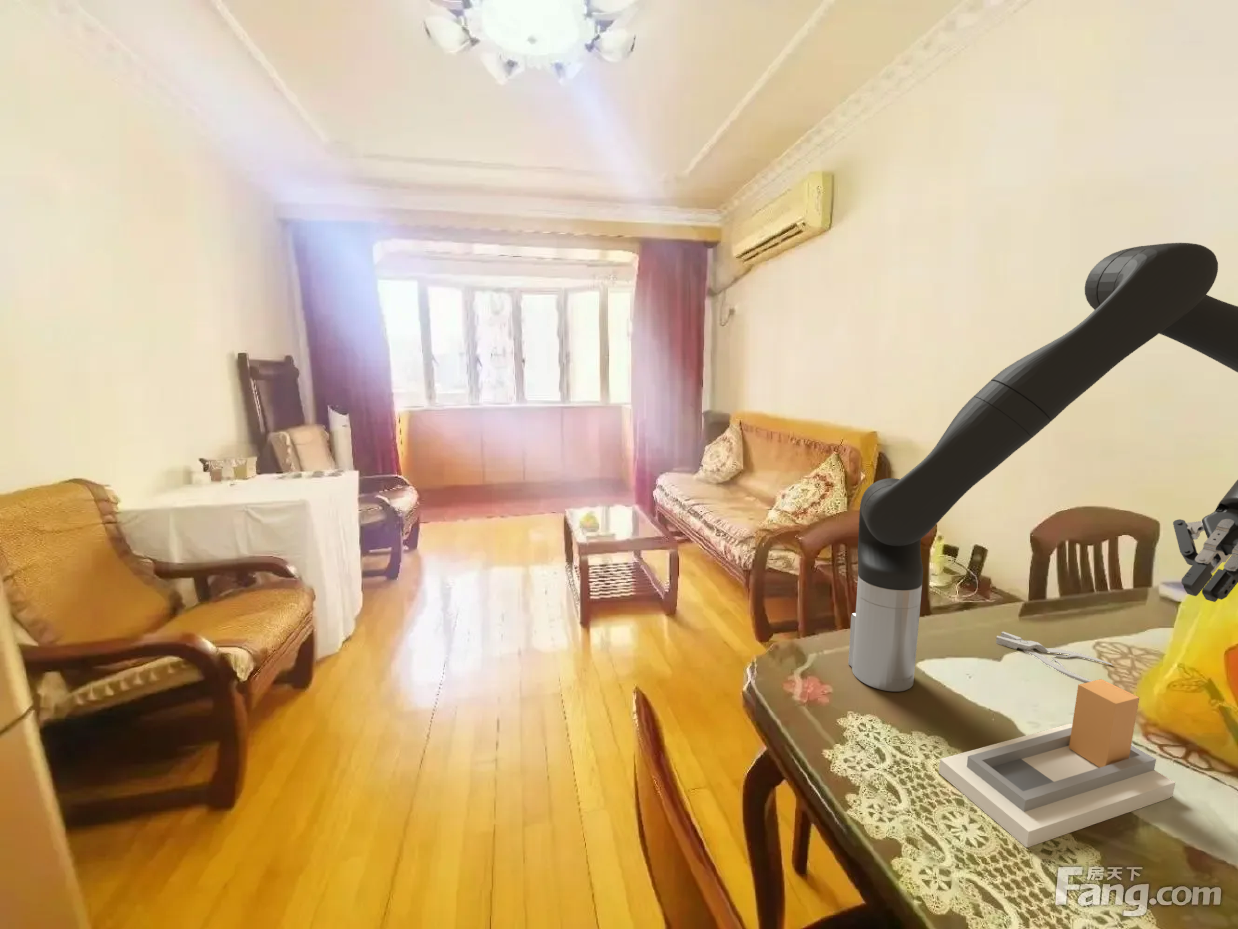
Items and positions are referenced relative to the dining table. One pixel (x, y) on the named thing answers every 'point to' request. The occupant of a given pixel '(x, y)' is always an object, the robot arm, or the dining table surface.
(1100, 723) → the switch tab
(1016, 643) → the pliers
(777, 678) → the dining table surface
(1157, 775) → the switch board
